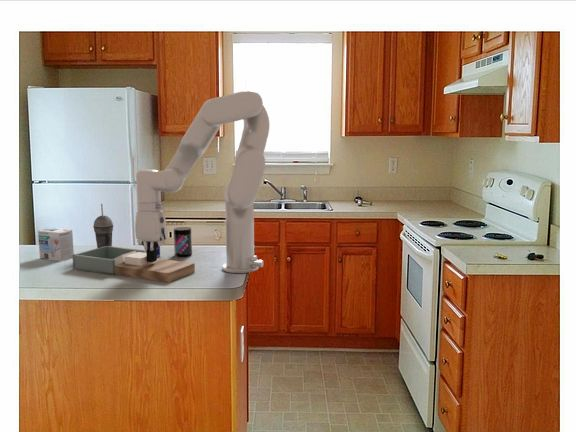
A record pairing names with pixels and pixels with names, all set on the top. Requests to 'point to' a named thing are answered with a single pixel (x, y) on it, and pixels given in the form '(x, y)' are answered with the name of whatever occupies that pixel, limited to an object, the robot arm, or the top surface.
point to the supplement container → (182, 241)
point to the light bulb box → (56, 244)
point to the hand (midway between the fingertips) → (151, 261)
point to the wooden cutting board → (157, 270)
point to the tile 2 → (136, 259)
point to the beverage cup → (103, 230)
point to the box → (100, 259)
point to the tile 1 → (122, 258)
